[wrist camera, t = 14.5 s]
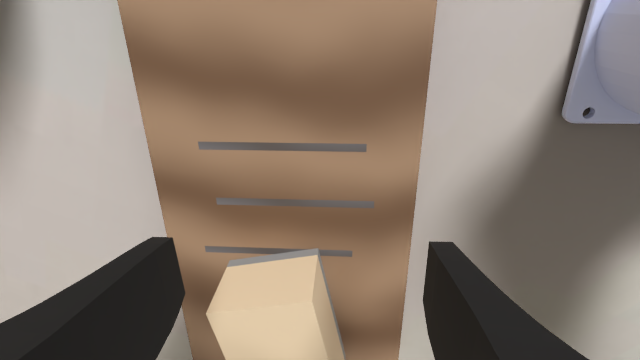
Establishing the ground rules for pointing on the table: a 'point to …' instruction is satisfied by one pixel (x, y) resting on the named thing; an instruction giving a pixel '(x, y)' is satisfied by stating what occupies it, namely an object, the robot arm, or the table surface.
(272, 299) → the block
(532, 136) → the table surface
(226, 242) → the board
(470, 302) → the robot arm
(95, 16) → the table surface
